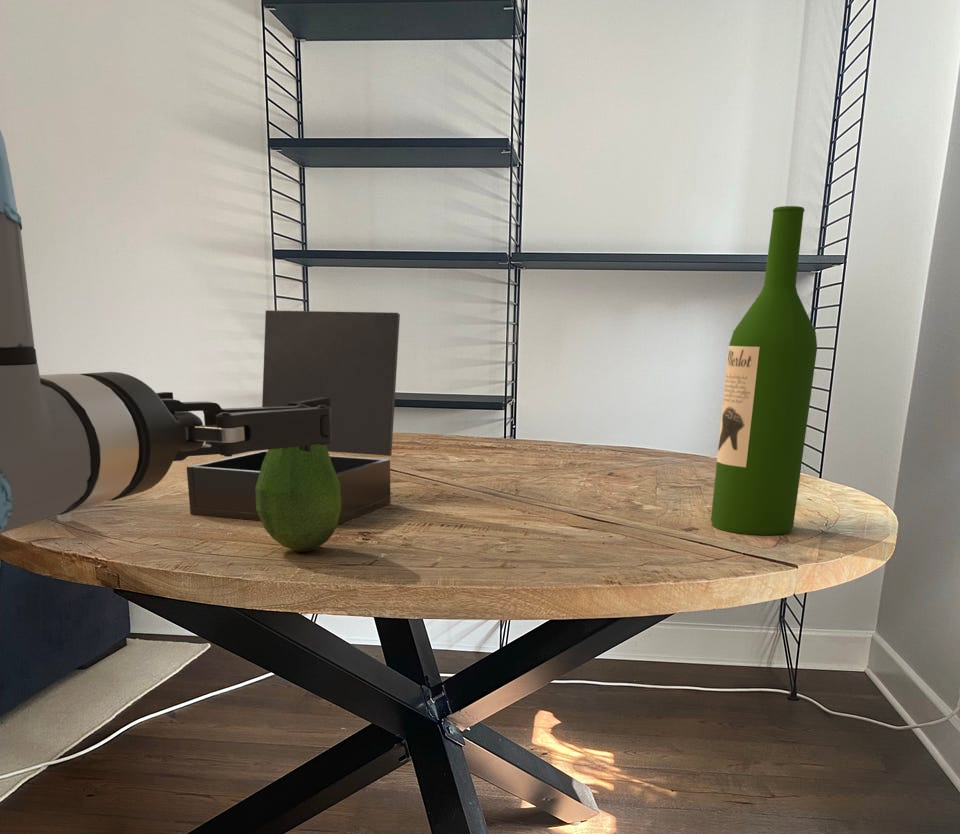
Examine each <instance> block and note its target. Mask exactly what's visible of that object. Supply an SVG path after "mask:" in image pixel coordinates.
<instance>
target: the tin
mask: <svg viewBox="0 0 960 834" xmlns="http://www.w3.org/2000/svg"><path fill="white" fill-rule="evenodd" d="M267 452H268V450H259V451H253V452H248V453H243V454H238V455H235V456H230V457H225V458H221V459H216V460H212V461H206V462H201V463H197V464H193V465H188V466H186V476H187V489H188V500H189V512H190V513H189V514H190V515H196V516H197V515H198V516H206V517H207V516H208V517H218V518H227V519H237V520H248V521H249V520H250V521H258V522H259V521H260V522H261V519H260V517H259V515H258V512H257V510H256V490H255V487H256V484H257V480H258V477H259V474H260V470H261V467H262V463H263V461H264V458H265V456H266V454H267ZM329 456H330V459H331V462H332V465H333V467H334V470H335V472H336V475H337V478H338V480H339V483H340V493H341V511H340V515H339V520H338V524H337V526H338V525H340V524H343V523H346V522H348V521H351V520H353V519H355V518H358V517H360V516H363V515H365V514H368V513H371V512H373V511H375V510H377V509H380V508H382V507H385V506H387V505H390V504H391V503H392V501H391V500H392V499H391V498H392V497H391V459H386V458H373V457H372V458H371V457H358V456H357V457H356V456H342V455H330V454H329Z"/></svg>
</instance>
